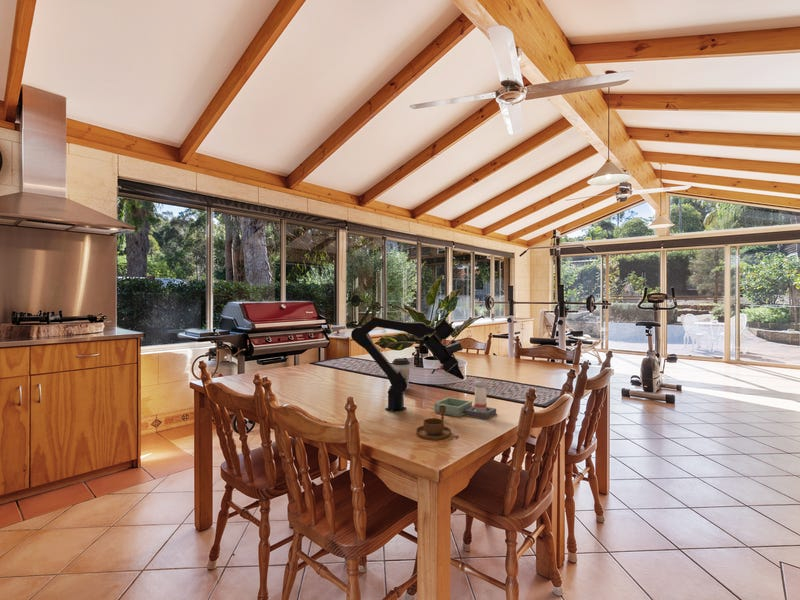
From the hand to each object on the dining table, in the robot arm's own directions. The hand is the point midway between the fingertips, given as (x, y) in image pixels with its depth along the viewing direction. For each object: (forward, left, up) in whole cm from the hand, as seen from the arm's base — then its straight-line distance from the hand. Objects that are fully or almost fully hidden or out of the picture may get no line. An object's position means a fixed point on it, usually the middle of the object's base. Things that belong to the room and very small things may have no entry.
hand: (462, 376), depth 162 cm
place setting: (-26, -6, -15) cm, 30 cm away
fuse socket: (-1, -9, -14) cm, 16 cm away
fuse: (-1, -9, -14) cm, 16 cm away
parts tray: (-3, +2, -14) cm, 14 cm away
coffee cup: (+15, +42, -14) cm, 47 cm away
